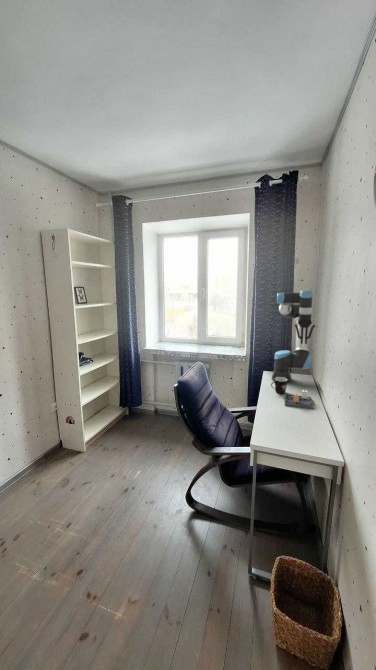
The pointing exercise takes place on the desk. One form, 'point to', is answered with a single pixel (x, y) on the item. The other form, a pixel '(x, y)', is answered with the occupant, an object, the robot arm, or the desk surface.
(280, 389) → the coffee mug
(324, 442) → the desk surface
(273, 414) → the desk surface
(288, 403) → the console
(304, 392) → the fader cream
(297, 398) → the fader terracotta
